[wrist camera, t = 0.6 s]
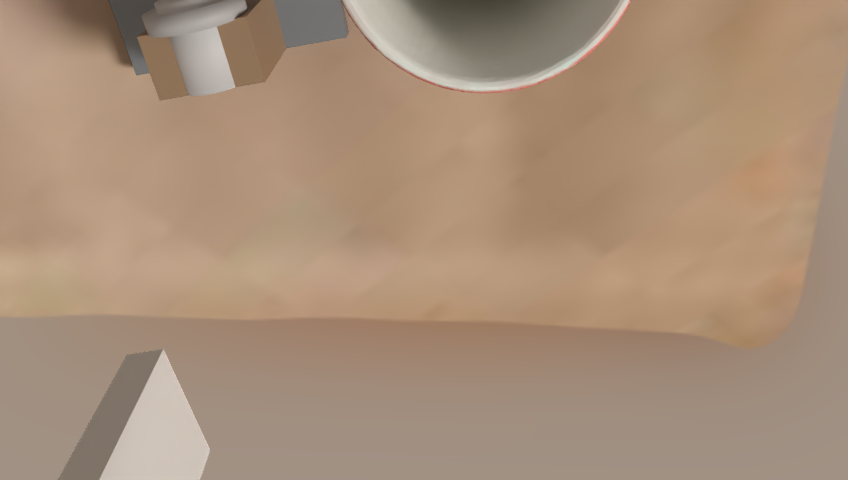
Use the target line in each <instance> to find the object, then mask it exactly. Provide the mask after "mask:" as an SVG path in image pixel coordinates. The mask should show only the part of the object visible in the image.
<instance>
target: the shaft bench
mask: <svg viewBox="0 0 848 480" xmlns="http://www.w3.org/2000/svg"><path fill="white" fill-rule="evenodd" d="M109 3H110V6H111V8H112V11H113V14H114V16H115V19H116V22H117V24H118V27H119V30H120V33H121V35H122V38H123V41H124V43H125V46H126V49H127V51H128V54H129V57H130V60H131V62H132V65H133V68H134V70H135V73H136V75H141V74H147V73H150V75H151V77H152V80H153V83H154V86H155V88H156V91H157V94H158V97H159V99H160V100H166V99H171V98H177V97H183V96H188V95H189V96H202V95H209V94H214V93H219V92H222V91H226V90H229V89H232V88H234V87H239V86H245V85H250V84H256V83H261V82H265V81H266V79H267V78H268V76H269V75H270V73H271V72H272V70H273V68H274V67H275V65H276V64H277V62H278V61H279V59H280V57H281V56H282V54H283V53H284V51H285V50H286V48H290V47H296V46H301V45H307V44H312V43H318V42H323V41H329V40H334V39H340V38H345V37H347V35H348V32H349V31H348V27H347V22H346V18H345V14H344V9H343V5H342V1H341V0H109Z"/></svg>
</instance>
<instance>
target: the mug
mask: <svg viewBox="0 0 848 480" xmlns="http://www.w3.org/2000/svg"><path fill="white" fill-rule="evenodd" d="M341 1H342V3H343V5H344V7H345V9H346V10H347V12H348V14H349V16H350V17H351V19H352V20H353V22H354V23H355V25H356V26H357V27H358V29H359V30H360V31H361V33H362V34H363V35H364V37H365V38H366V39H367V40H368V42H369V43H370V44H371V45H372V46H373V47H374V48H375V49H376V50H378V51H379V52H380V53H381V54H382V55H383V56H384V57H385V58H387V59H388V60H389V61H391V62H392V63H393V64H395V65H396V66H397V67H399V68H401V69H402V70H404V71H406V72H407V73H409V74H411V75H413V76H414V77H416V78H418V79H421V80H423V81H426V82H428V83H431V84H434V85H436V86H439V87H442V88H446V89H451V90H456V91H461V92H468V93H499V92H507V91H514V90H518V89H522V88H526V87H530V86H533V85H536V84H539V83H541V82H544V81H546V80H549V79H551V78H553V77H555V76H557V75H559V74H560V73H562V72H564V71H566V70H567V69H569V68H571V67H572V66H574V65H576V64H578V63H579V62H580V61H581V60H582V59H583V58H585V57H586V56H588V55H589V54H590V53H591V52H592V51H593V50H594V49H595V48H596V47H597V46H598V45H599V44H600V43H601V42H602V41H603V40H604V39H605V38H606V37H607V36H608V35H609V33H610V32H611V31H612V30H613V28H614V27H615V26H616V24H617V23H618V22H619V20H620V19H621V18H622V16H623V14H624V13H625V11H626V9H627V8H628V6H629V4H630V2H631V0H341Z"/></svg>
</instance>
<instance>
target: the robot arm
mask: <svg viewBox="0 0 848 480" xmlns="http://www.w3.org/2000/svg"><path fill="white" fill-rule="evenodd" d="M209 452H210V449H209V447H208V445H207V442H206V440H205V438H204V436H203V434H202V432H201V430H200V427H199V425H198V423H197V421H196V419H195V417H194V414H193V412H192V410H191V408H190V406H189V403H188V401H187V399H186V397H185V395H184V393H183V391H182V388H181V386H180V384H179V382H178V380H177V378H176V376H175V373H174V371H173V369H172V367H171V365H170V362H169V360H168V358H167V356H166V354H165V352H164V349H161V350H155V351H149V352H142V353H136V354H130V355H127V356H126V357H125V359H124V361H123V363H122V364H121V366H120V368H119V370H118V372H117V373H116V375H115V377H114V379H113V381H112V383H111V384H110V386H109V388H108V390H107V392H106V393H105V395H104V397H103V399H102V401H101V403H100V404H99V406H98V408H97V410H96V412H95V413H94V415H93V417H92V419H91V421H90V422H89V424H88V426H87V428H86V430H85V431H84V433H83V435H82V437H81V439H80V441H79V442H78V444H77V446H76V448H75V449H74V452H73V453H72V455H71V457H70V459H69V461H68V462H67V464H66V466H65V468H64V469H63V471H62V473H61V475H60V477H59V478H58V480H200V478H201V475H202V472H203V469H204V466H205V463H206V461H207V458H208V455H209Z"/></svg>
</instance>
